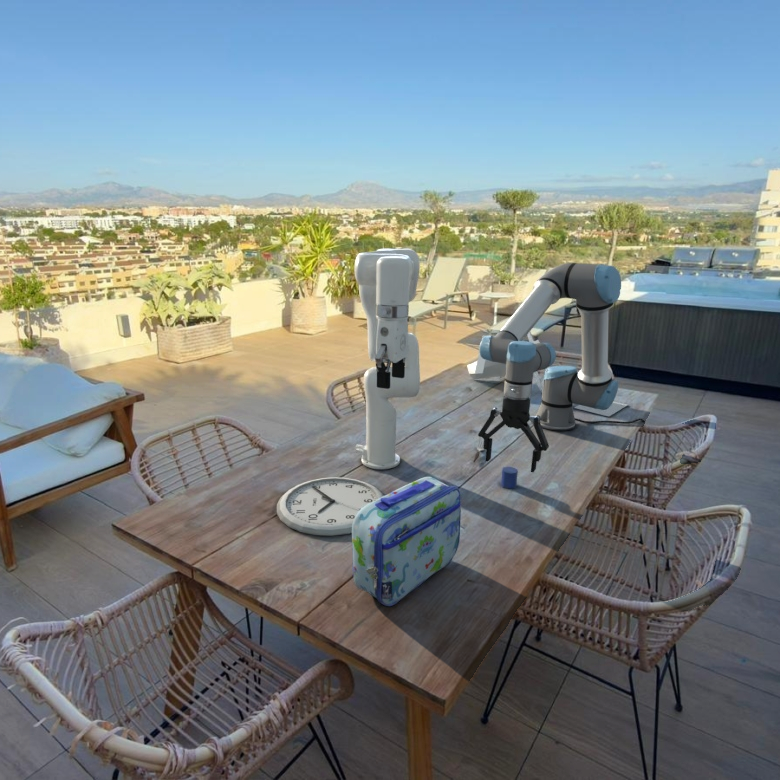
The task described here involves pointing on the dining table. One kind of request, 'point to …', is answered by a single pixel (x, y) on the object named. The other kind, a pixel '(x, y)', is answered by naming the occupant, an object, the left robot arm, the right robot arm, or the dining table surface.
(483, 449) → the fork
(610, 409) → the invitation card
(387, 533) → the lunch box
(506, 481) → the can
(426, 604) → the dining table surface
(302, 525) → the wall clock
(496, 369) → the white plastic object
